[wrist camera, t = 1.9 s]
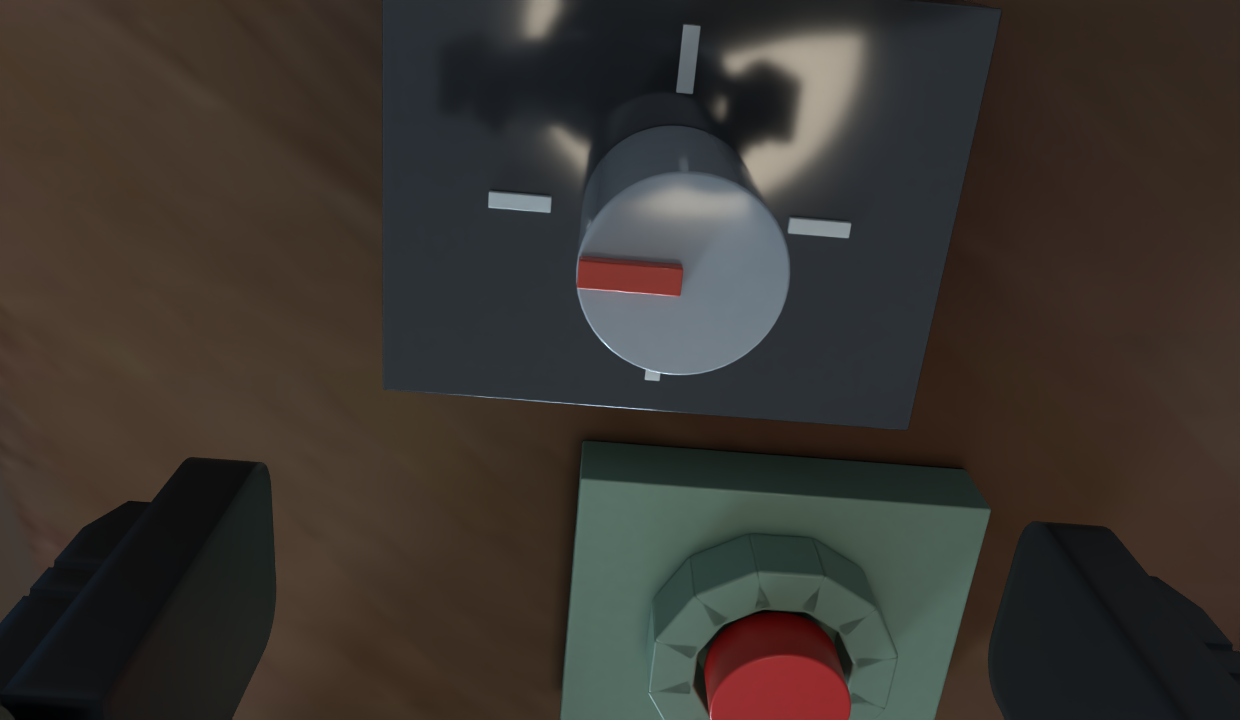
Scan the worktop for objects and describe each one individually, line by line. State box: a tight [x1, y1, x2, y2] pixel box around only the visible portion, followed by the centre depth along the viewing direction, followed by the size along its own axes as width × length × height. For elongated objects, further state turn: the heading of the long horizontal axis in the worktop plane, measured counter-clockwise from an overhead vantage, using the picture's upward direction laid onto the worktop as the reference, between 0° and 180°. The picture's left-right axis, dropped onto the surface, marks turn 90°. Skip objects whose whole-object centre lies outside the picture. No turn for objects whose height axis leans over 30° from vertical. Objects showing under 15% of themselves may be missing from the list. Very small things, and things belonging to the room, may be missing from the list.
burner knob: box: [576, 126, 791, 375], centre depth 21 cm, size 4×4×5 cm
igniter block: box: [559, 441, 991, 720], centre depth 29 cm, size 11×9×4 cm
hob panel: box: [382, 0, 1002, 430], centre depth 24 cm, size 13×10×3 cm
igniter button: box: [704, 612, 851, 720], centre depth 27 cm, size 4×4×2 cm
